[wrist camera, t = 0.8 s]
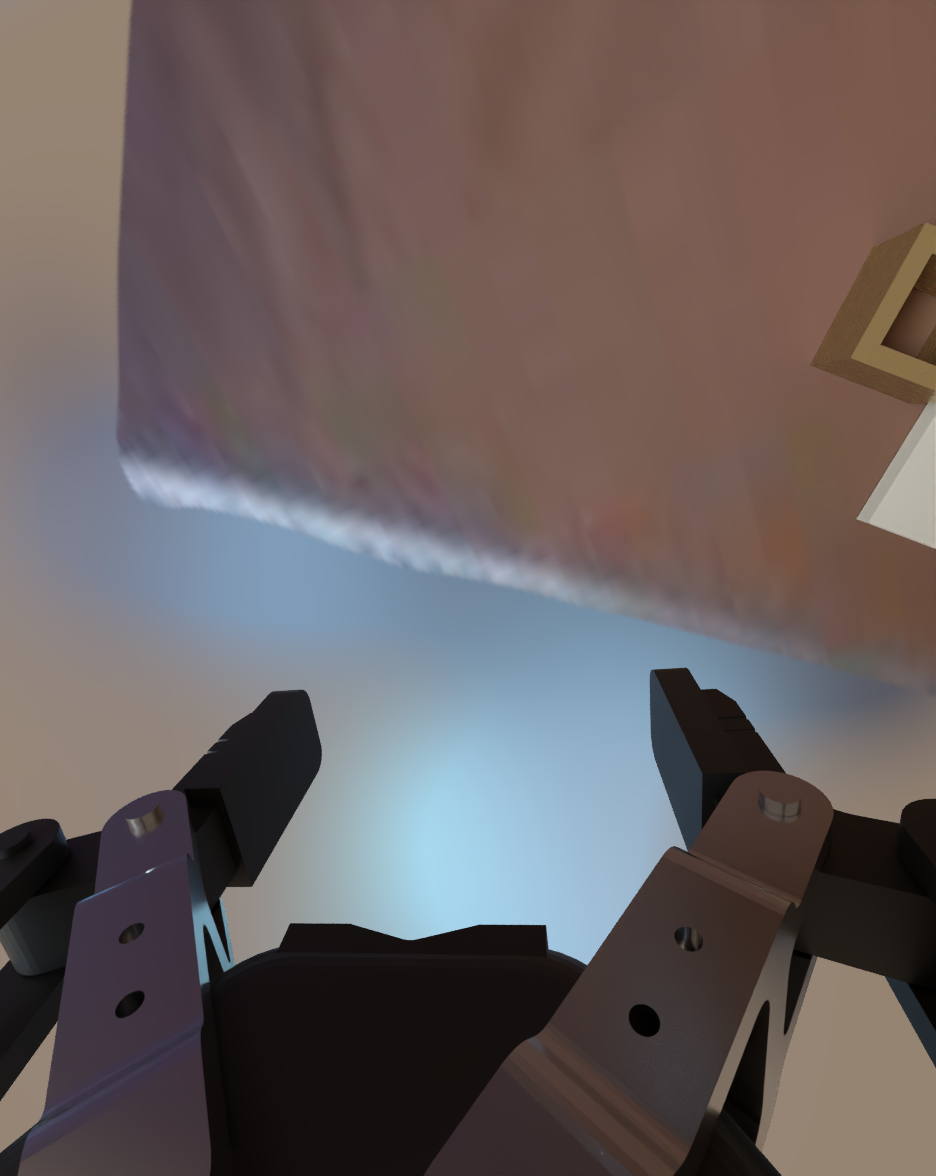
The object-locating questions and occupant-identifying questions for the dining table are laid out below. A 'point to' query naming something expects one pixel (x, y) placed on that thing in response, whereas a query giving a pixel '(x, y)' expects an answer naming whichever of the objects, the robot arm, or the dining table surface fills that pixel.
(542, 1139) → the robot arm
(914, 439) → the post board
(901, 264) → the collar
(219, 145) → the dining table surface
